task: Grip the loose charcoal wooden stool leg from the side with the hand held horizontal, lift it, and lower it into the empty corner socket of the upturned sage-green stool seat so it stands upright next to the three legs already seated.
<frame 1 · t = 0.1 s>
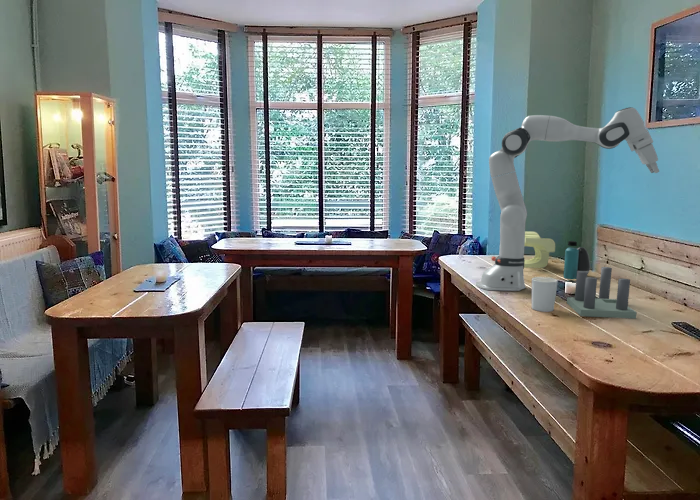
hand: (655, 172, 231), 54 cm above the table, tool tilted 30°, fingers open, 8 cm apart
pale yellow curved piece: (530, 265, 314), on the table
stool leg: (603, 299, 235), on the table
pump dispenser: (578, 276, 287), on the table
beverage bottle: (569, 281, 273), on the table
stool seat: (599, 310, 218), on the table
candle holder: (542, 309, 219), on the table
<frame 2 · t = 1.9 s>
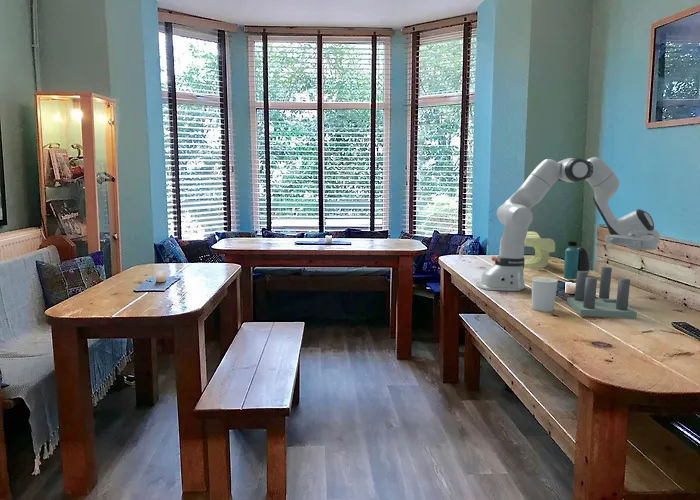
hand: (621, 242, 238), 24 cm above the table, tool horizontal, fingers open, 8 cm apart
nothing on the table moved.
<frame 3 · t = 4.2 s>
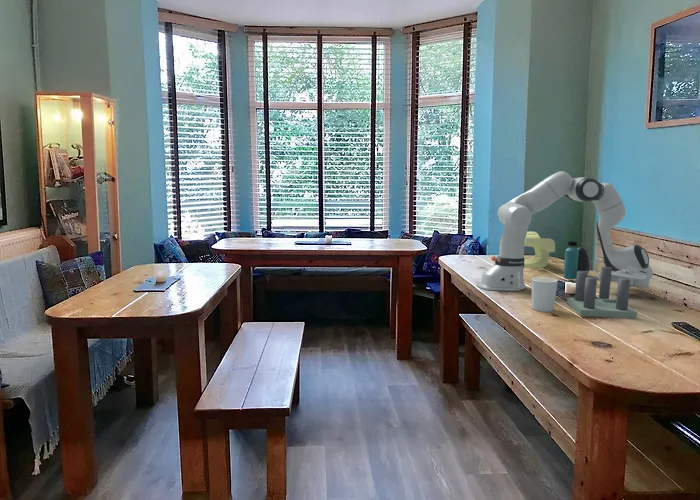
hand: (614, 280, 239), 8 cm above the table, tool horizontal, fingers open, 8 cm apart
nothing on the table moved.
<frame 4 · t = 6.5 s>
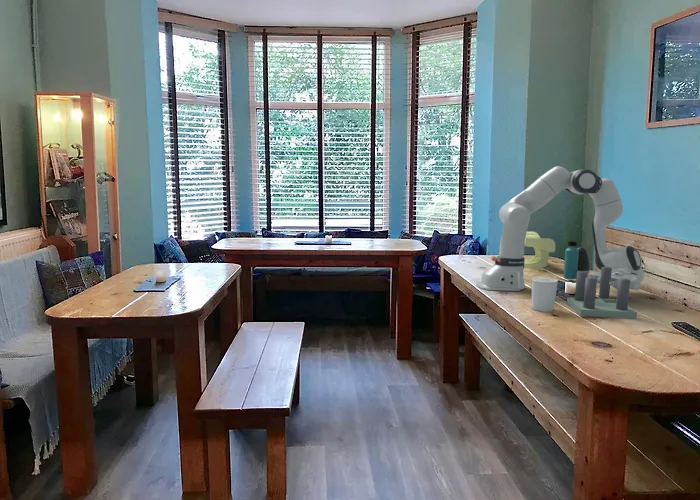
hand: (604, 282, 234), 8 cm above the table, tool horizontal, fingers closed on stool leg, 4 cm apart
stool leg: (603, 299, 235), on the table, touching gripper
everything else where it was.
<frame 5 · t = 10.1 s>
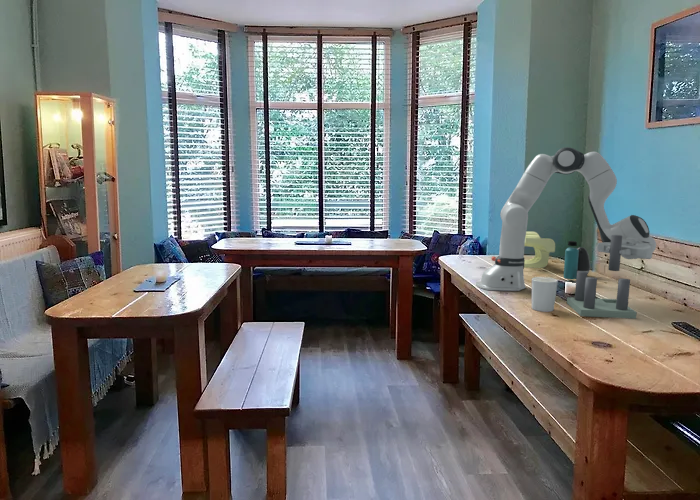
hand: (614, 251, 219), 23 cm above the table, tool horizontal, fingers closed on stool leg, 4 cm apart
stool leg: (613, 270, 221), point 15 cm above the table, touching gripper
everything else where it was.
when the fingers open (9 cm above the table, at t = 13.6 s): stool leg stays where it is, resting in stool seat.
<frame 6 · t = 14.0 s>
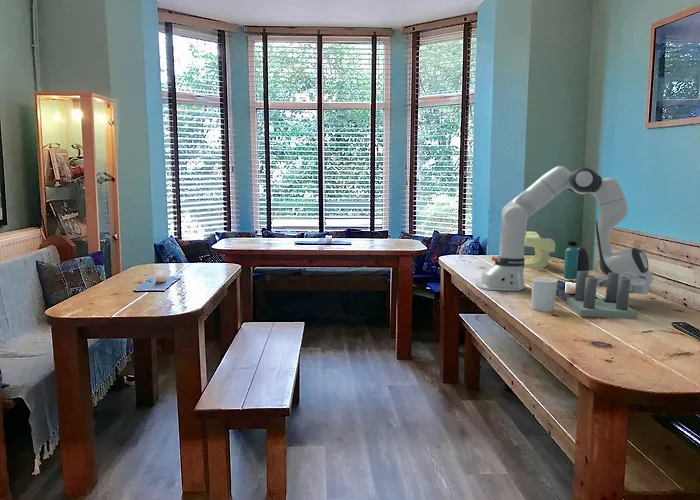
hand: (611, 286, 221), 9 cm above the table, tool horizontal, fingers open, 8 cm apart
stool leg: (610, 307, 223), resting in stool seat
everything else where it was.
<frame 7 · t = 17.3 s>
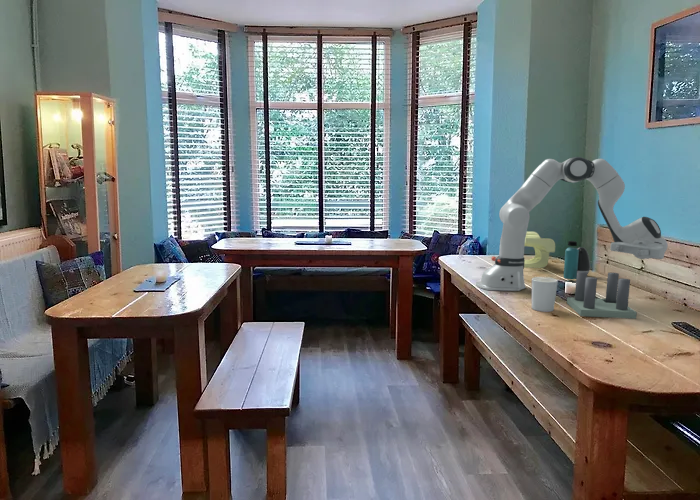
hand: (627, 250, 226), 22 cm above the table, tool horizontal, fingers open, 8 cm apart
nothing on the table moved.
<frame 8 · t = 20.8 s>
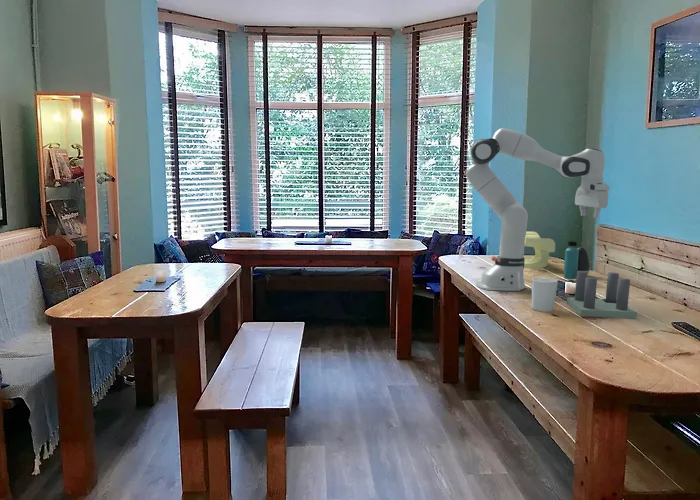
hand: (589, 216, 246), 34 cm above the table, tool pointing down, fingers open, 8 cm apart
nothing on the table moved.
at the end: stool leg 0.1 cm from the target spot on the stool seat, point 0.0 cm above the stool seat's base; stool leg tilted 0°; the gripper is holding nothing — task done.
